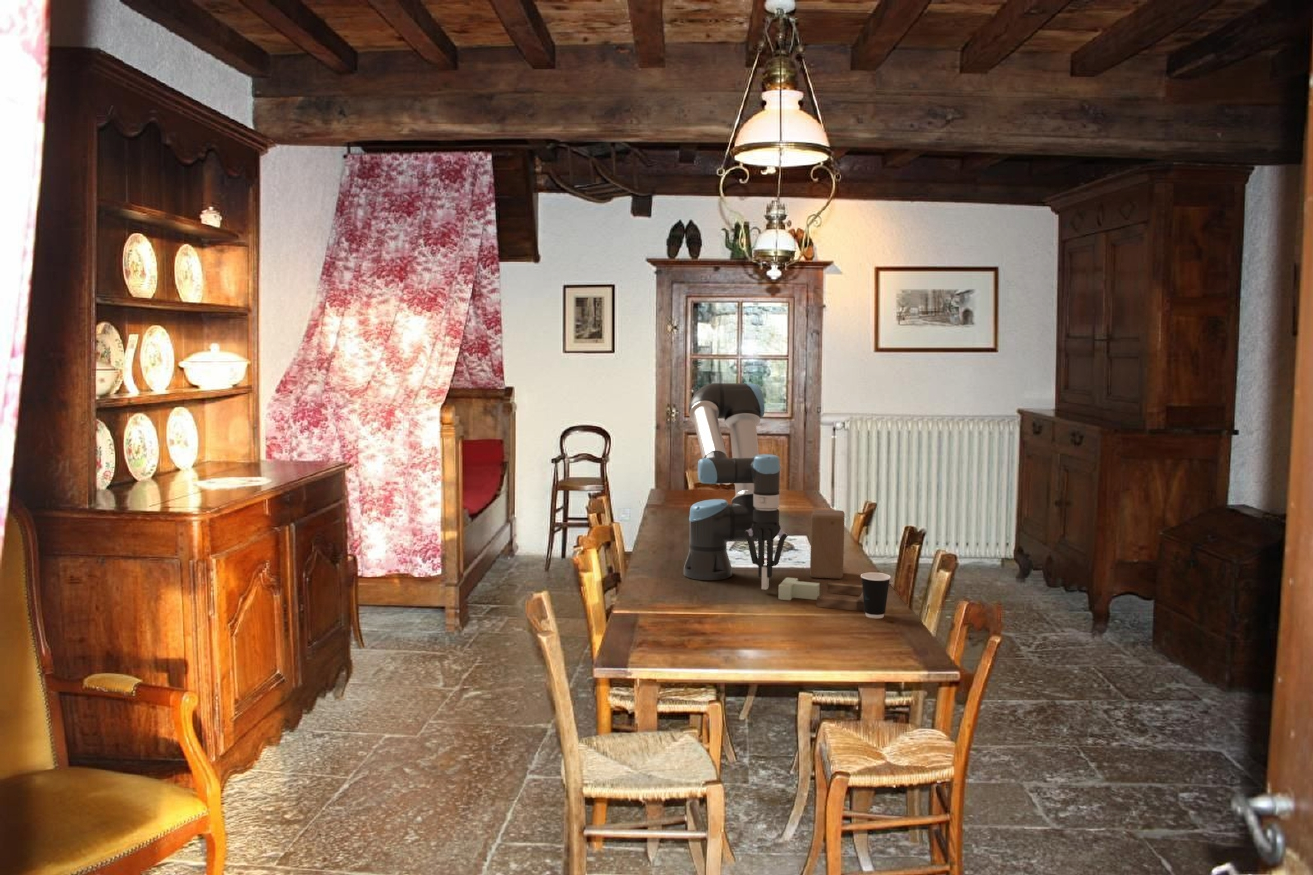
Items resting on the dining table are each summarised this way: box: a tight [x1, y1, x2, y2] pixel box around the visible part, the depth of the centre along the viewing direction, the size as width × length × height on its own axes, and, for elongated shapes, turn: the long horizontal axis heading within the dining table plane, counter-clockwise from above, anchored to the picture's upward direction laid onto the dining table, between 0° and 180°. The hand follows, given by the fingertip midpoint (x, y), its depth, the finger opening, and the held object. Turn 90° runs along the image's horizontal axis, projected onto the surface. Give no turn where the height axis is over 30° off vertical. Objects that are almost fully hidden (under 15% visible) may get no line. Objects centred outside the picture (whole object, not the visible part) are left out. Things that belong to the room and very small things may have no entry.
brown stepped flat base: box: [816, 582, 865, 612], centre depth 283 cm, size 13×18×2 cm
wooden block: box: [809, 509, 846, 580], centre depth 312 cm, size 10×10×20 cm
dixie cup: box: [860, 572, 891, 619], centre depth 268 cm, size 8×8×11 cm
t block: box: [777, 577, 821, 601], centre depth 288 cm, size 10×10×4 cm
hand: (765, 588), depth 291 cm, fingers closed
